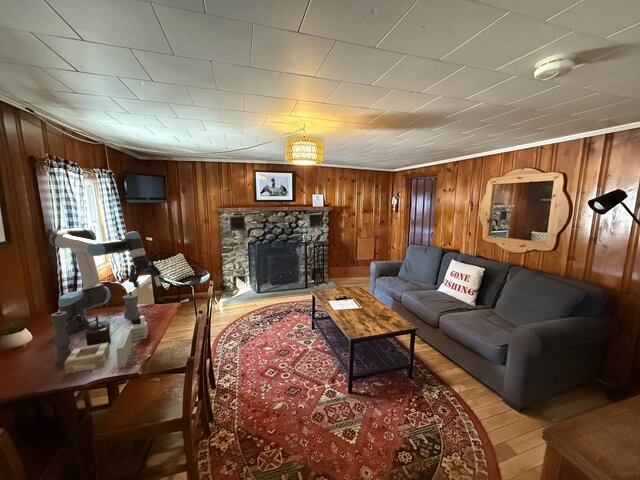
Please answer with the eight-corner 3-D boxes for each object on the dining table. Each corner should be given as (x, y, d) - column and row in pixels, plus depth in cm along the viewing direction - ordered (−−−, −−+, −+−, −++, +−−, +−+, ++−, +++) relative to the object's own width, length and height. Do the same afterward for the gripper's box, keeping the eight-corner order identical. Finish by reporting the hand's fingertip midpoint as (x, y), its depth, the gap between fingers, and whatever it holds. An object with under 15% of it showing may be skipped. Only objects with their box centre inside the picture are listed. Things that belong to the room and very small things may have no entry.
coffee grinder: (111, 337, 161) (108, 308, 159) (110, 344, 153) (108, 314, 150) (76, 344, 152) (73, 314, 150) (74, 353, 143) (70, 321, 141)
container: (130, 341, 157) (129, 320, 155) (132, 335, 163) (131, 315, 162) (146, 338, 160) (144, 317, 159) (147, 333, 167) (146, 313, 165)
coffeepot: (141, 317, 190) (140, 292, 188) (125, 320, 184) (123, 295, 182) (137, 310, 201) (135, 287, 199) (121, 314, 195) (120, 290, 193)
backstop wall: (125, 346, 150) (124, 330, 149) (132, 345, 152) (130, 329, 151) (117, 367, 131) (116, 348, 130) (125, 366, 133) (123, 347, 131)
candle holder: (63, 357, 140) (57, 311, 137) (75, 356, 140) (70, 311, 137) (52, 363, 134) (46, 316, 130) (65, 363, 134) (60, 316, 131)
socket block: (75, 359, 137) (74, 348, 137) (109, 352, 144) (108, 342, 143) (65, 374, 125) (64, 362, 124) (103, 366, 132) (102, 355, 131)
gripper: (123, 258, 152) (135, 293, 153) (160, 251, 176) (170, 282, 177) (114, 261, 155) (126, 296, 155) (152, 254, 178) (162, 284, 179)
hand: (149, 288), depth 166 cm, fingers open, 13 cm apart
